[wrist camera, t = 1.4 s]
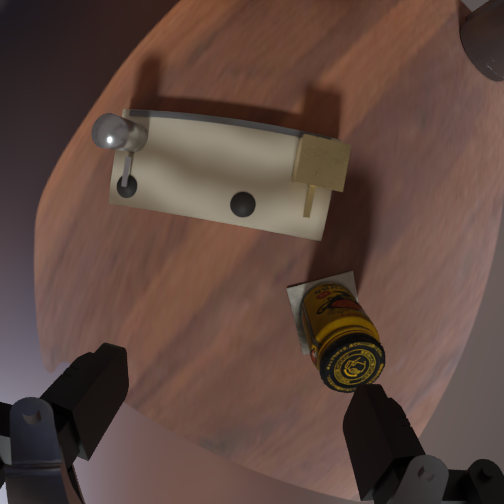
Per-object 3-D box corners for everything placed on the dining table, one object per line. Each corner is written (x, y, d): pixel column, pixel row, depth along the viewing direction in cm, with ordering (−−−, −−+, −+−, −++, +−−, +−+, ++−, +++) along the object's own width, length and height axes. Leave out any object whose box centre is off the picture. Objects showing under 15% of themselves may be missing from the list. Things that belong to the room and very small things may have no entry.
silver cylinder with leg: (124, 123, 27) (95, 112, 21) (150, 124, 27) (124, 113, 21) (114, 184, 29) (83, 187, 23) (139, 188, 29) (111, 191, 23)
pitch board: (129, 111, 28) (122, 108, 26) (337, 141, 28) (342, 139, 26) (114, 202, 31) (107, 203, 29) (318, 238, 30) (321, 241, 29)
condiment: (352, 270, 31) (394, 318, 19) (363, 337, 33) (398, 401, 21) (286, 287, 32) (296, 346, 20) (302, 353, 34) (315, 425, 22)
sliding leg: (298, 140, 27) (303, 133, 23) (340, 149, 27) (351, 145, 23) (284, 212, 28) (287, 218, 24) (326, 221, 28) (335, 227, 24)
